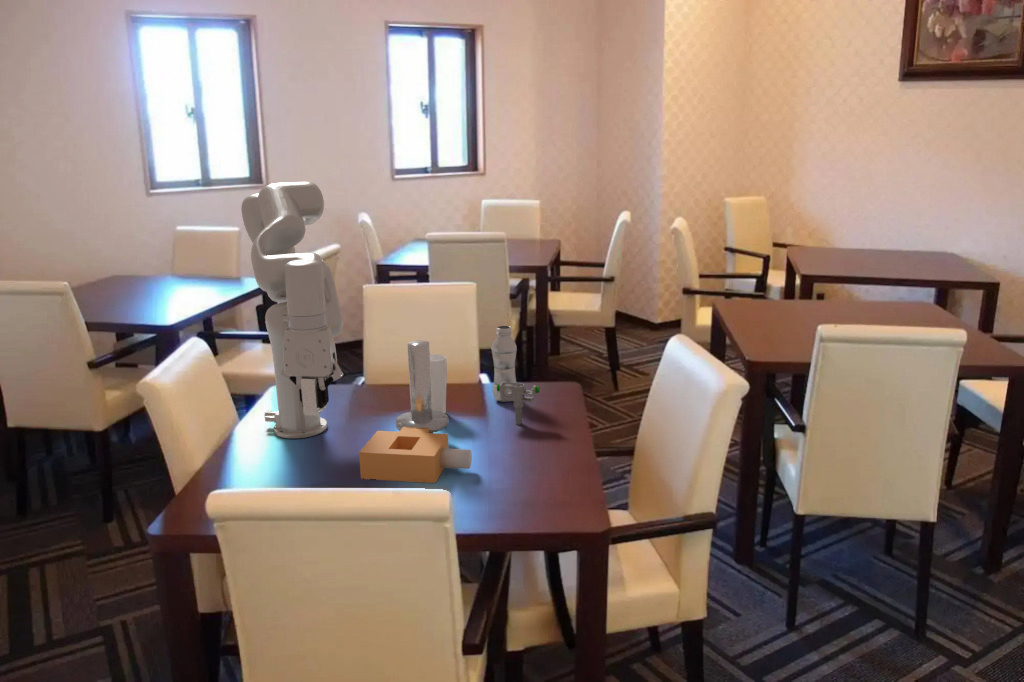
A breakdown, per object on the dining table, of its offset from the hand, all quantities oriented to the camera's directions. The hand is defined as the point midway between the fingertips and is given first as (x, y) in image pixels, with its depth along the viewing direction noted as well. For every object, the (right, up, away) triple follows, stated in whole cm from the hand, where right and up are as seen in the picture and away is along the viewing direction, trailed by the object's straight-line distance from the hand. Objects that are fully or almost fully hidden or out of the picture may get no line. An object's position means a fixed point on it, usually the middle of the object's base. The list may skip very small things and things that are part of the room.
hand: (314, 404), depth 169 cm
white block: (0, -1, 0) cm, 1 cm away
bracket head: (+22, -14, +5) cm, 26 cm away
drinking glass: (+22, -5, +35) cm, 42 cm away
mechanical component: (+43, -7, +28) cm, 52 cm away
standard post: (+21, -10, +17) cm, 29 cm away
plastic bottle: (+40, -3, +44) cm, 59 cm away
